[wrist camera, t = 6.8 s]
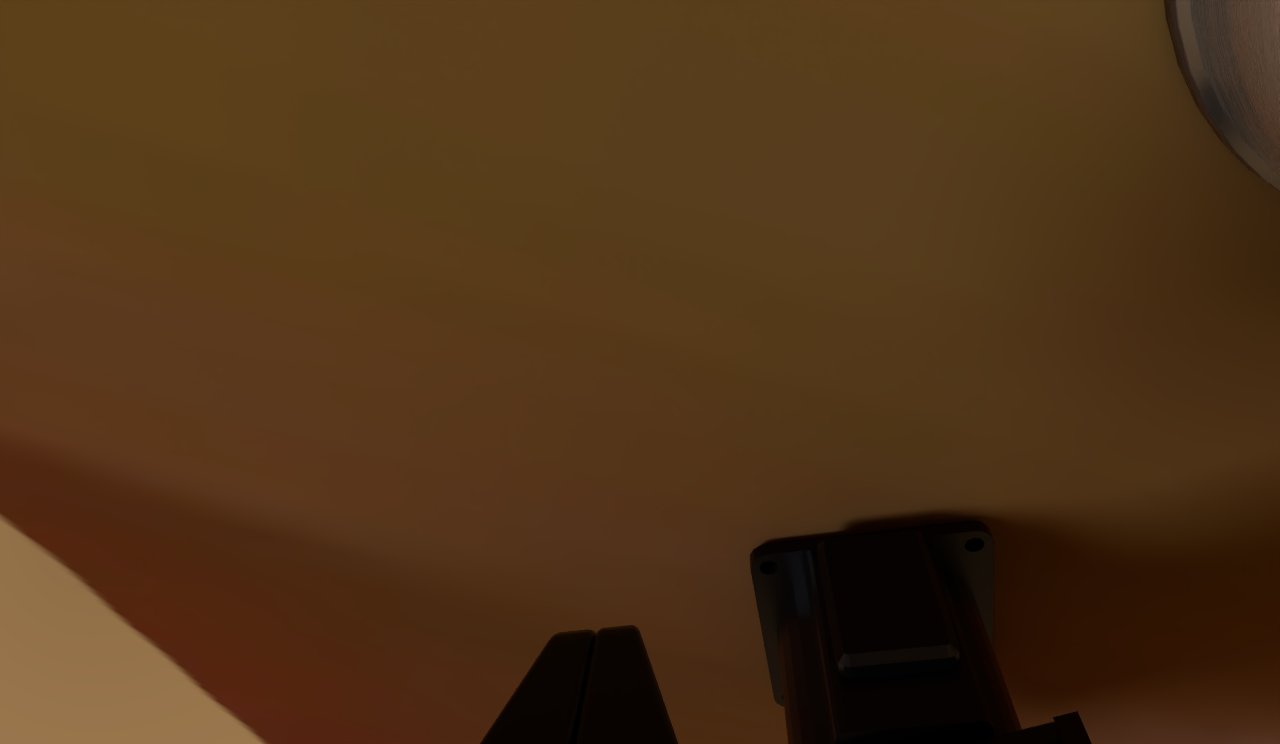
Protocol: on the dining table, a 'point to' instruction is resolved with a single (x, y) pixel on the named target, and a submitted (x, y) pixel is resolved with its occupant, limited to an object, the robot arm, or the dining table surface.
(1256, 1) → the pot
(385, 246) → the dining table surface
